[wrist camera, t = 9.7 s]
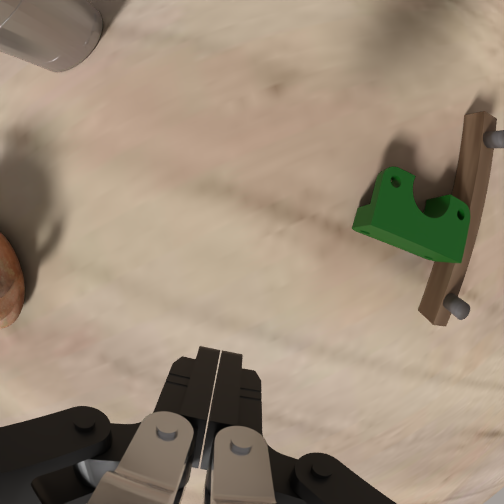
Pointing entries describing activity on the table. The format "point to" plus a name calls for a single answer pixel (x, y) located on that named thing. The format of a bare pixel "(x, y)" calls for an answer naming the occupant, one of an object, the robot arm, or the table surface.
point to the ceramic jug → (10, 284)
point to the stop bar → (473, 194)
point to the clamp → (414, 219)
